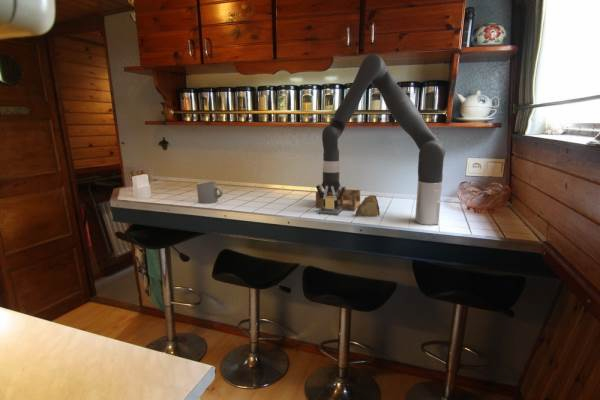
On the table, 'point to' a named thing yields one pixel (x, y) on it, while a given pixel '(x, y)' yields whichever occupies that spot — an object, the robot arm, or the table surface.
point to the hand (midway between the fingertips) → (330, 207)
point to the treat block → (329, 202)
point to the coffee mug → (208, 192)
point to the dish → (330, 211)
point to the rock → (368, 207)
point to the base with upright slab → (141, 186)
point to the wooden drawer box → (343, 199)
